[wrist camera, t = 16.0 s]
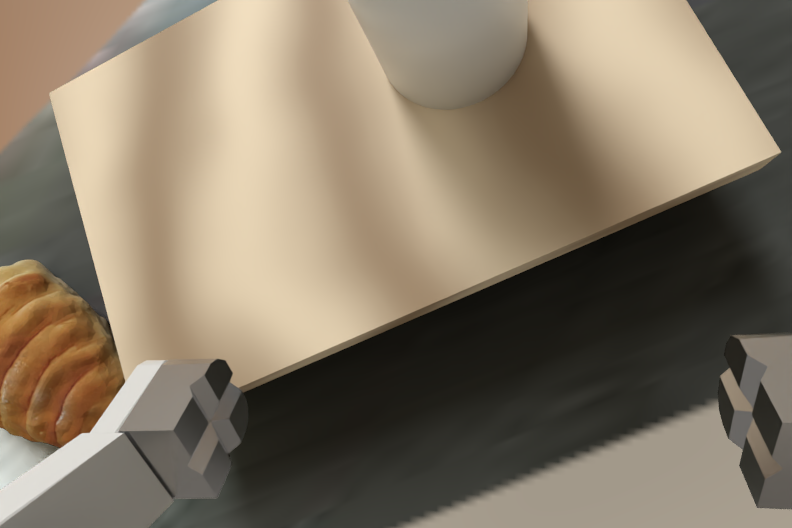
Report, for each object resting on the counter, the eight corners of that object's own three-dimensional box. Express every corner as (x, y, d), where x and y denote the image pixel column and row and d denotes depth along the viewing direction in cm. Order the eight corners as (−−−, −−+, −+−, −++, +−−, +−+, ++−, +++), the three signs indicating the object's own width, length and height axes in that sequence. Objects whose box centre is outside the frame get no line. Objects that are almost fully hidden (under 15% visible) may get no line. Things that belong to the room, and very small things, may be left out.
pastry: (178, 358, 25) (119, 359, 21) (99, 487, 25) (25, 510, 21) (42, 254, 28) (-32, 239, 24) (-30, 371, 27) (-116, 374, 24)
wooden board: (558, -82, 24) (566, -192, 19) (721, 199, 21) (781, 152, 16) (132, 140, 27) (49, 93, 22) (216, 416, 24) (138, 431, 19)
